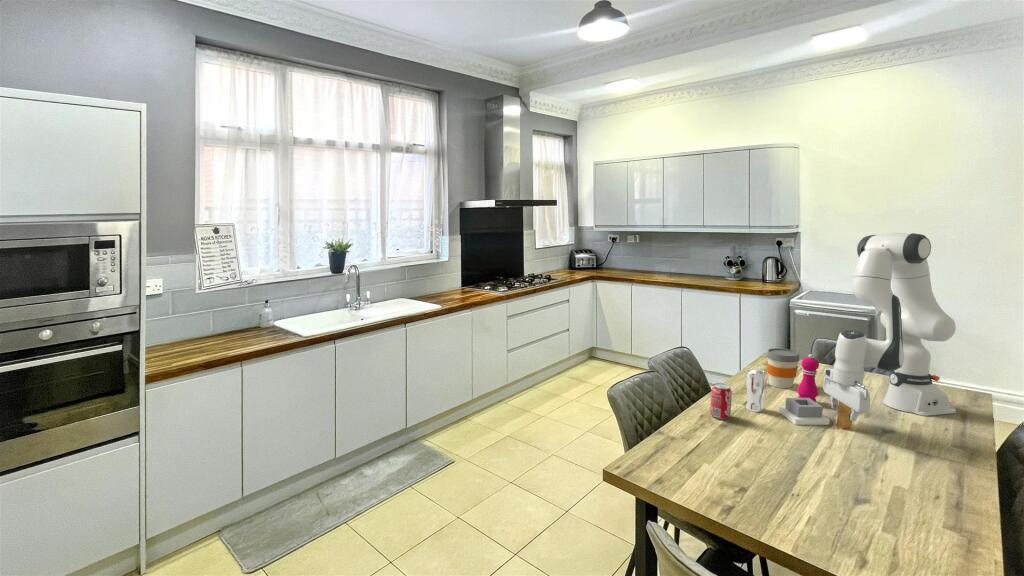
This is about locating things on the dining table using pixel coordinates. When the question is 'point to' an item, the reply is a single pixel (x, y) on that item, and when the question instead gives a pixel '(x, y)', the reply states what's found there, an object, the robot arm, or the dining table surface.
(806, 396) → the pepper mill
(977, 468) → the dining table surface
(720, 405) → the soda can
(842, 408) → the pin
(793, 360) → the reusable coffee cup
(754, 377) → the clear waisted cup
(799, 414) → the socket
